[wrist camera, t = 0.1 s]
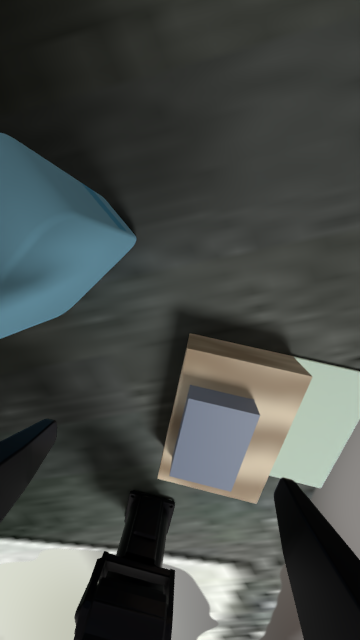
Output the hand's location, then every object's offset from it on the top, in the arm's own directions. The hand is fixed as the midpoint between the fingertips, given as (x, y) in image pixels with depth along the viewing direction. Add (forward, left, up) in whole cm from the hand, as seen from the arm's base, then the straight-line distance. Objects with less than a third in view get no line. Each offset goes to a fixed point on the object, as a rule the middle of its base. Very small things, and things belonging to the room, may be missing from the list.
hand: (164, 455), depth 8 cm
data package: (+5, +12, -15) cm, 20 cm away
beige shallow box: (-8, -6, -14) cm, 17 cm away
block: (-8, -4, -10) cm, 14 cm away
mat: (-8, -16, -14) cm, 23 cm away
